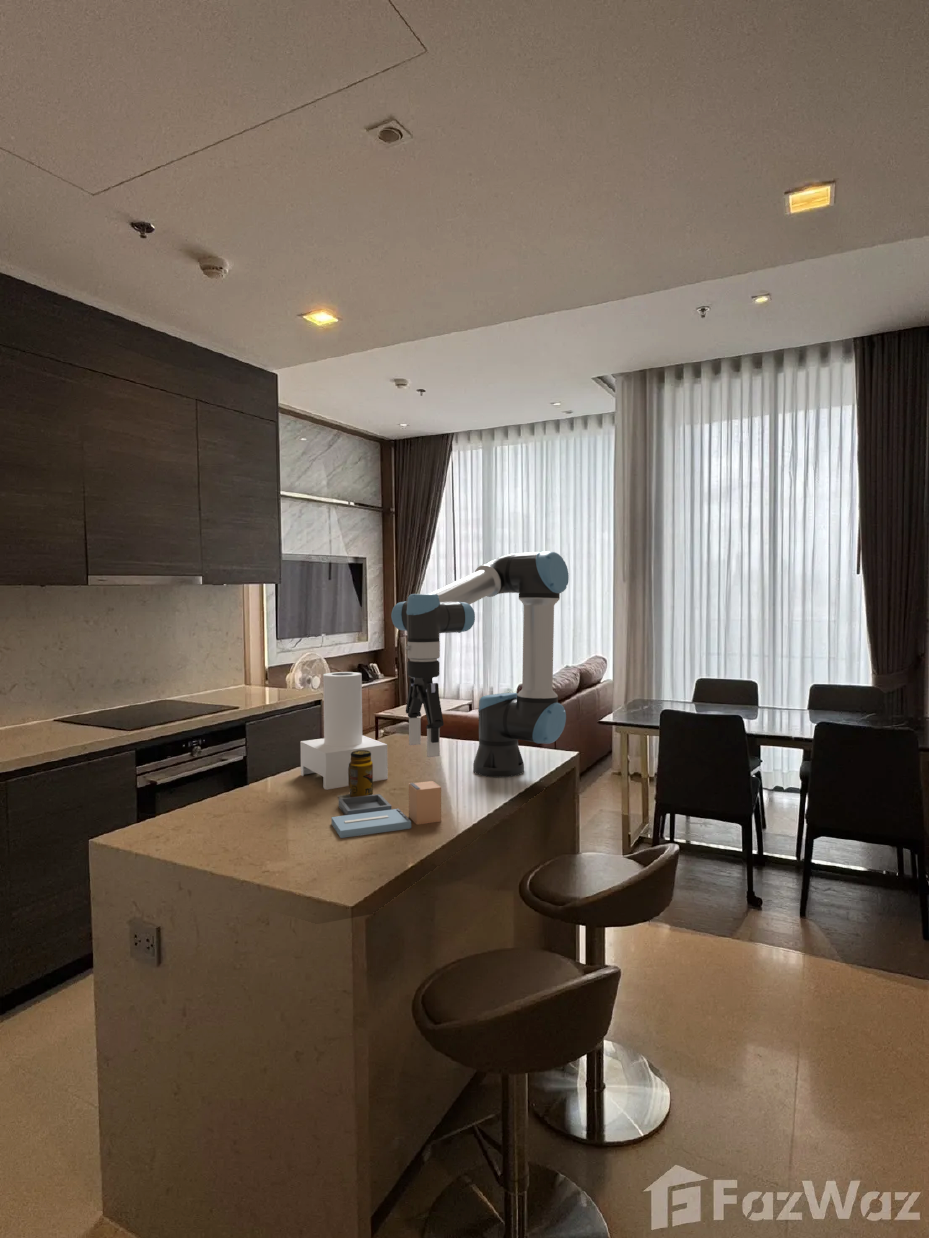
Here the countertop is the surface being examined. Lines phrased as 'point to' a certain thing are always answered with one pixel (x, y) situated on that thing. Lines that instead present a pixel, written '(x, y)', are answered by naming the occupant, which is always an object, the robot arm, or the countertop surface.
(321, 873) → the countertop surface
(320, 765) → the paper towel holder
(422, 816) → the stub
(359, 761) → the condiment
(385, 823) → the board
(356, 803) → the tray
